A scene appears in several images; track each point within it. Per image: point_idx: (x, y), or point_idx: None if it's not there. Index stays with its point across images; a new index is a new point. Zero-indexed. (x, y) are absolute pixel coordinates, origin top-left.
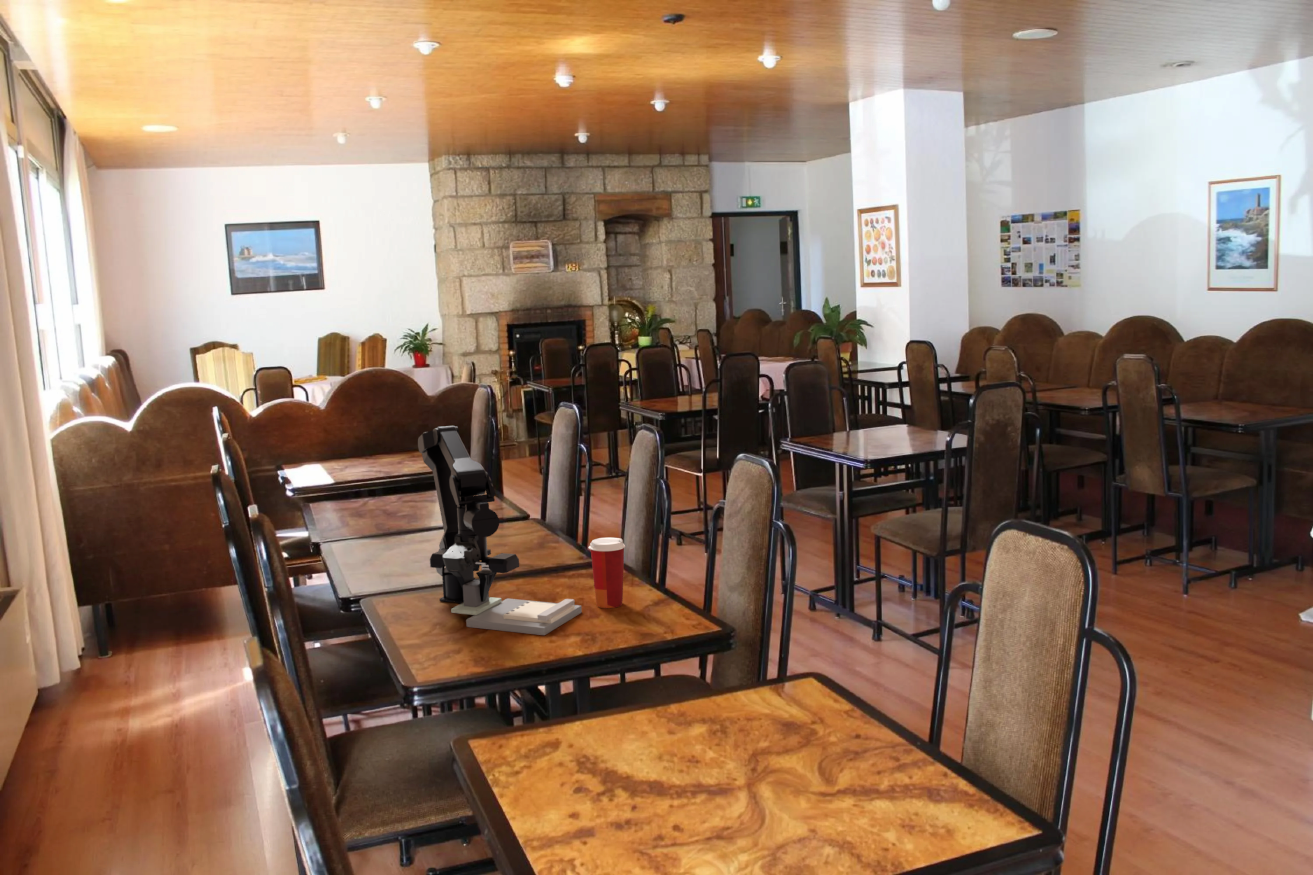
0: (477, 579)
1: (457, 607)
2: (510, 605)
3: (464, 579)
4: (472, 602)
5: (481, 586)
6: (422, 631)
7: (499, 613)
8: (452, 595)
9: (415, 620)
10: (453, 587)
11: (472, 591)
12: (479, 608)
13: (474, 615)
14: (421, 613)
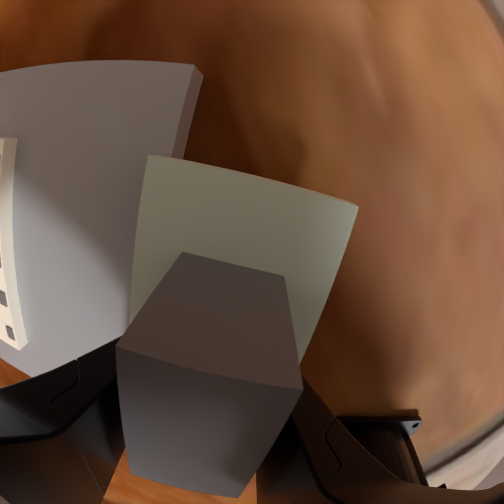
0: (221, 493)
1: (322, 242)
2: (76, 344)
3: (303, 472)
4: (204, 270)
5: (94, 374)
6: (409, 18)
7: (55, 215)
8: (383, 438)
9: (489, 192)
10: (386, 463)
11: (174, 317)
12: (149, 225)
13: (169, 156)
14: (478, 290)
